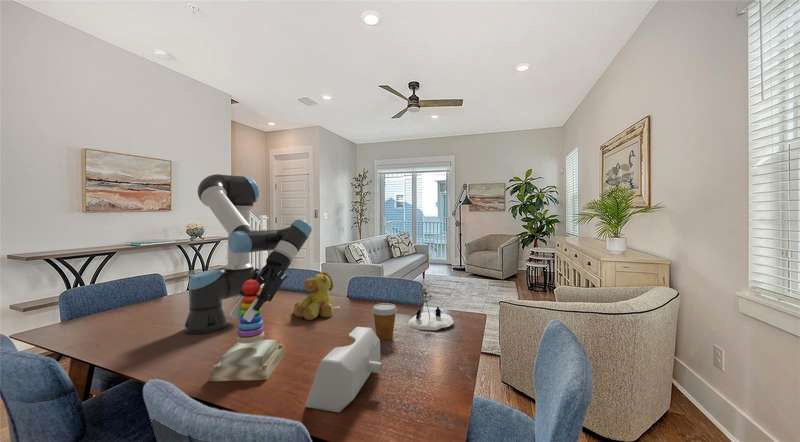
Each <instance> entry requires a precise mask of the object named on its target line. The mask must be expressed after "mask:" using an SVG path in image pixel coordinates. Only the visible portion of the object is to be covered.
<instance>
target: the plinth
mask: <svg viewBox="0 0 800 442" xmlns="http://www.w3.org/2000/svg"><path fill="white" fill-rule="evenodd" d="M277 341H278V340H277V339H261V340H259V341H257V342H254V343H247V344H244V343H239V342H238V341H236V343H234V345H232V347H230V348H229V349H228V350H227V351H226V352H225V353H223V355H221V356H220V361H219V362H218V363H217V364H216V365H213V366H212V369H210V370H209V382H228V381H229V382H233V381H236V382H237V381H261V380H262V381H265V380H266V381H267V380H268V379H269V378H270V376H271V375H272V373H273V372H274V370H275V369H276V368H277V366H278V365H279V363H280V362H281V361H282V359H283V358H284V357H285V355H286V354H285V353H286V350H285V349H286V347H285V345H284V344H283V343H280V344H278V345H277Z"/></svg>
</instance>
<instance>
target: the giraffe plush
mask: <svg viewBox="0 0 800 442" xmlns="http://www.w3.org/2000/svg"><path fill="white" fill-rule="evenodd" d="M303 287H304V289H305V291H307V292H310V293H309V295H307V296H306V297H305V298H303V300H301V301H298V302H295V303H294V305H293V314H294V316H296V317H297V318H301V319H303V318H304V320H307V321H314V319H316V318H318V316H320V317H322V318H330V317H331V316H333V313H334V310H335V309H336V310H337V309H340V308H341V306H339V305H337V306H334V307H333V305H332V298H331V296H330V294H329V293H328V291H329V292H331V291H333V289H334V281H333V279H332V277H331V275H329V273H328V272H326V271H319V273H317V274H315V275H314V276H313V277H310V278H309V277H308V278H306V279H305V280H304V283H303Z"/></svg>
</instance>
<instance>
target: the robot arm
mask: <svg viewBox="0 0 800 442" xmlns="http://www.w3.org/2000/svg"><path fill="white" fill-rule="evenodd" d="M197 196H198V198H199V200H200V202H201V203H202V204H203V205H204V206H206V207H208V208H209V209H210V210H211V212H212V213H213V215H214V216H215V217H216V219H217V220H218V222H219V223H220V224H221V225H222V227H223V228H224V230H225V231H226V232H227V234H228V235H227V236H228V237H227V244H228V246H227V249H228V250H227V253H228V254H227V258H228V259H227V260H228V263H227V264H226V265H225V266H224V268H223V269H224V270H223V272H222V270H221V269H211V270H204V271H200V272H198V273H195V274H193V275H191V276H190V277H189V279H188V280H189V281H188V301H189V302H188V305H189V306H188V307H189V312H188V315H187V318H186V321H185V324H184V332H185V334H188V335H201V334H208V333H212V332H216V331H218V330H219V331H220V330H221V329H223V328H225V327H227V325H228V318H227V316H226V314H225V311H224V309H223V300H226V299H231V298H237V297H239V299H238V300H237V301H236V303H235V305H234V307H233V308H232V309H231V311H230V312H229V314H228V315H229V316H230V317H232V318H233V319H234V320H237V319H238V317H240V316H241V313H240V311H241V309H242V308H241V304H242V303H243V301H242V297H243V296H244V295H245V294H244V293H243V290H242V286H243V284H244V283H245V282H246V281H247V280H251V279H253V280H256V281H258V282H259V284H260V287H261V286H262V285H263V287H262V289H261V291H260V293H259V294H258V295H259V296H257V297H258V298H259V299H258V298H255V300H254V301H253V303H252V304H251V306H250V307H249V309H248V310H247V312H246V313H245V315H244V316H243V318H244V319H245V320H247V321H248V322H251V320H252V318H253V317H254V315H255V314H256V312H257V311H259V309H260V308H261V309H262V306H263V305H264V304H265V303H266V302H271V301H272V300H273V298H274V297H275V295H276V293H277V292H278V290H279V289H280V288H281V286H282V285H283V282H284V281H285V280H286V279H287V278H288V274H286V273H285V272H286V271H287V270H288V268H289V267H290V266H291V264H292V263H291V262H293V261H294V260H295V258H296V256H297V255H298V253H299V252H300V250H301V249H302V247H303V246H304V244H305V243H306V241H307V240H308V239H309V236H310V235H311V233H312V230H313V229H312V226H311V225H310V224H309V223H308V222H307V221H305V220H303V219H301V218H297V219H295V220H294V221H292V222H291V224H290V225H289V226H287V227H285V228H281V229H267V230H265V229H264V230H262V229H260V230H254V229H253V227H252V226H251V225H250V219H251V218H250V213H251V212H250V211H251V210H252V209H253V207H254V203H256V202H258V200H259V198H260V197H259V196H260V190H259V186H258V184H257V182H256V181H255V179H254V178H252V177H249V176H243V175H229V174H222V173H220V174H218V173H216V174H211V175H208V176H207V177H205V178H203V179H202V180H201V181H200V183H199V184H198V187H197ZM265 251H271V252H270V253H269V255H268V257H266V260H265V265H264V266H263V267H262V268H258V267H256V268H254V265H253V264H252V263H251V262H250V253H254V252H255V253H256V252H265Z"/></svg>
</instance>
